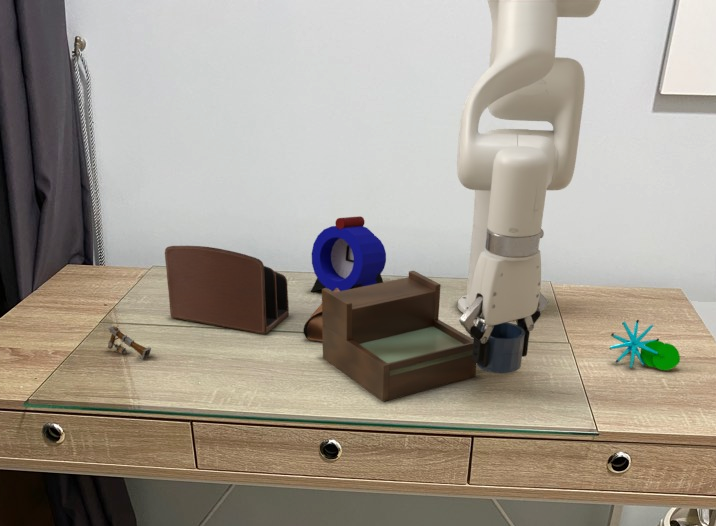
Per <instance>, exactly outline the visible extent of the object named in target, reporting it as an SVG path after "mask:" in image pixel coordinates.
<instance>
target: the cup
mask: <svg viewBox="0 0 716 526" xmlns="http://www.w3.org/2000/svg"><path fill="white" fill-rule="evenodd" d="M484 328H485V324H483V326H482V328H481V332H483V330H484ZM524 338H525V330H524V329H523V328H522V327H520V326H518V325H517V323H512V322H506V323H502V324H498V325H494V328H493V330H492V332H491V334H490V336H489V338H488V340H487V341H488V342H489V343H490V352H489V361H488V366H487V367H484V368H483V367H482V366H480V365H478V364H477V363H476V366H477V367H479V368H480V369H481V370H482V371H485V372H487V373H492V374H499V375H500V374H501V375H503V374H511V373H514V372H517V371H518V370H520V369H521V366H522V360H523V357H522V354H523V346H524Z"/></svg>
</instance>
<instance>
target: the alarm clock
mask: <svg viewBox="0 0 716 526" xmlns="http://www.w3.org/2000/svg"><path fill="white" fill-rule="evenodd" d="M365 222H366V221H365V219H364V217H363V216H347V217H338V218H336V220H335V225H332V226H329V227H326V228H323V230H322V231H321V232H320V233H318V235H317V236H316V238H315V240H314V242H313V246H312V249H311V265H312V268H313V272H314V275H315V276H316V279H315V281H314V284H313V285H312V288H311V290H310V293H311V292H312V293H313V292H316V291H320V290H322V289H324V288H328V289H330V290H331V291H334V289H336V288H338V289H339V290H340V291H344V290H349V289H353V288H358V287H363V286H368V285H373V284H378V283H383V282H384V280H383V277H382V275H381V274H382V273H383V271H384V269H385V266H386V262H387V252H386V249H385V246H384V244H383V242H382V239H380V238H379V237H378V236H377V235H375V234H374V233H373V232H372V231H371V230H370V229H369V228H368V227H366V226H365Z"/></svg>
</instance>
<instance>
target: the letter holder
mask: <svg viewBox="0 0 716 526" xmlns="http://www.w3.org/2000/svg"><path fill="white" fill-rule="evenodd" d="M164 259H165V268H166V269H165V270H166V281H167V290H168V300H169V301H168V302H169V313H170V318H171V319H176V320H181V321H182V320H183V321H188V322H193V323H199V324H206V325H210V326H217V327H221V328H227V329H232V330H239V331H243V332H248V333H255V334H261V335H267V334H268V333H269V332H270V331H271V330H272V329H274V328H276V326H278V325H279V324H280V323H281V322H283V321H284V320H285V319H287V318H288V317H289V314H290V313H289V307H290V306H289V293H288V292H289V290H288V279H287V277H286V276H285V275H284V274H283V273H280V272H277V271H275V270H274V269H273V268H271V267H269V266H265V265H264V262H263V261H262V260H261V259H259V258H257V257H255V256H251V255H248V254H244V253H241V252H237V251H232V250H228V249H222V248H217V247H211V246H201V245H169V246H167V247H165V249H164Z"/></svg>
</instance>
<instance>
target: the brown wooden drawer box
mask: <svg viewBox="0 0 716 526" xmlns="http://www.w3.org/2000/svg"><path fill="white" fill-rule="evenodd" d="M441 287H442V286H441V284H440V283H439V282H437V281H435V280H433V279H431V278H429V277H426V276H425V275H423V274H421V273H420V272H417V271H415V270H409V271H408V277H403V278H399V279H394V280H389V281H383V283H378V284H373V285H368V286H363V287H358V288H353V289H349V290H344V291H339V292H333V291H332V290H330V289H328V288H323V289H321V304H322V334H323V342H322V359H324V360H325V361H327V362H329V364H331V365H332V366H333V367H334V368H336V369H337V370H339V371H340V372H341V373H343V374H344V375H346V376H347V377H349V378H350V379H351V380H353V381H354V382H355V383H356V384H358V385H359V386H361V387H362V388H363V389H365V390H366V391H367V392H369V393H370V394H371V395H373V396H374V397H376V398H378V399H379V400H380V401H381V402H387V401H391V400H395V399H398V398H402V397H405V396H409V395H413V394H416V393H420V392H424V391H427V390H431V389H434V388H438V387H441V386H445V385H449V384H454V383H457V382H460V381H464V380H467V379H471V378H475V377H476V373H477V363H475V362H473V360H472V352H473V341H474V338H472V337H471V336H468V335H467V334H465V333H463V332H461V331H460V330H458V329H456V328H454V327H453V326H451V325H450V324H447V323H446V322H443V321H442V320H440V319H439V316H440V315H439V314H440V299H441Z"/></svg>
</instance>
